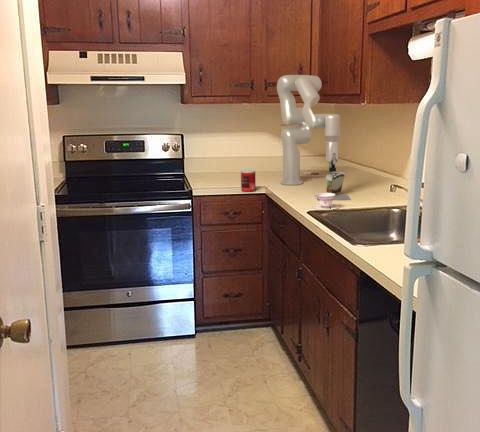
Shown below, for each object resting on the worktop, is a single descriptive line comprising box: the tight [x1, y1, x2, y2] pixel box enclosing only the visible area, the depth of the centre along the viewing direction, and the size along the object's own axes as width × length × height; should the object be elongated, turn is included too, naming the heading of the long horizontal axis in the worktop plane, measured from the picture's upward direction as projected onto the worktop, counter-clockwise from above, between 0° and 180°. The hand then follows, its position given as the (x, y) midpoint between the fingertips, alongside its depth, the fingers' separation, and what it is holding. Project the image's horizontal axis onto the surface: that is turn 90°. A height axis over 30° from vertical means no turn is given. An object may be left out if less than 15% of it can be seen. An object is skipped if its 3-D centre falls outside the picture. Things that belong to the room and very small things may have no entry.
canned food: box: [240, 169, 256, 193], centre depth 287 cm, size 8×8×11 cm
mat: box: [314, 194, 352, 201], centre depth 265 cm, size 12×16×1 cm
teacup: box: [312, 192, 340, 211], centre depth 243 cm, size 12×12×6 cm
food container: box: [325, 171, 346, 195], centre depth 271 cm, size 12×6×10 cm, turn 138°
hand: (332, 175), depth 275 cm, fingers closed
